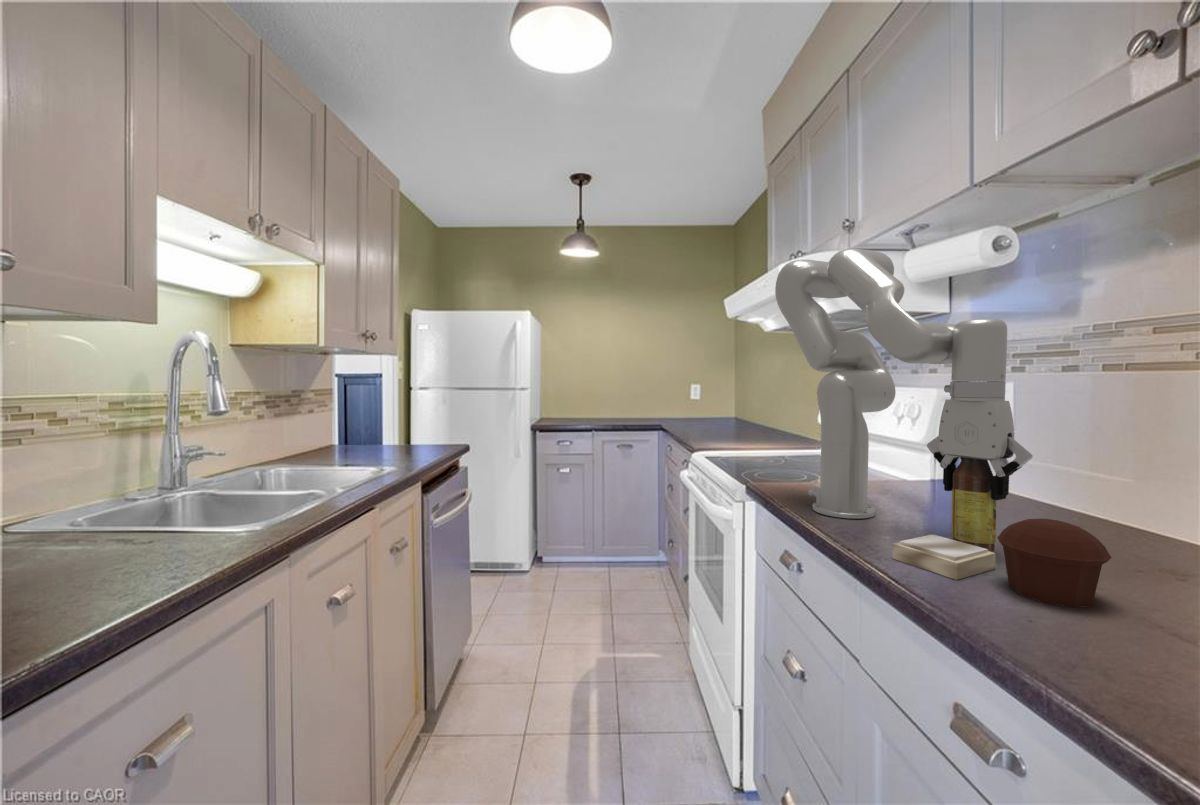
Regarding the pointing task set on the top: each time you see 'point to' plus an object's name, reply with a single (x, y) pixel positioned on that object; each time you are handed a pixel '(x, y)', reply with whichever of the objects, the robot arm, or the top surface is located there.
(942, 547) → the birch riser
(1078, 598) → the muffin
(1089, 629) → the top surface
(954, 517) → the sauce bottle
